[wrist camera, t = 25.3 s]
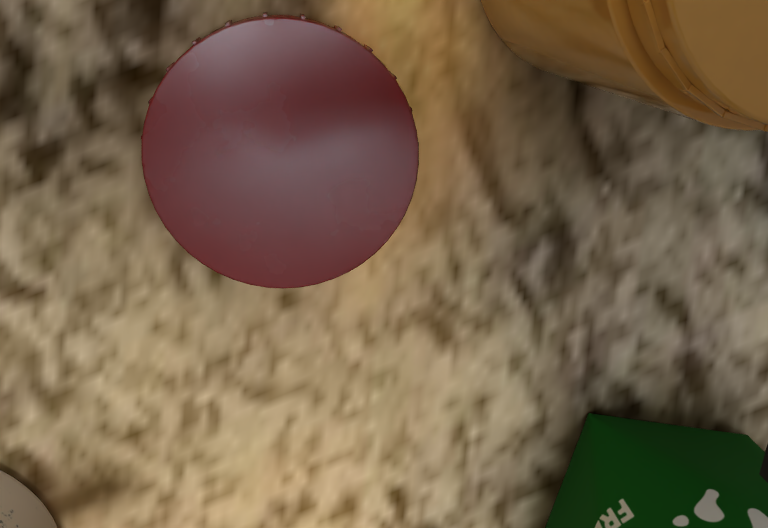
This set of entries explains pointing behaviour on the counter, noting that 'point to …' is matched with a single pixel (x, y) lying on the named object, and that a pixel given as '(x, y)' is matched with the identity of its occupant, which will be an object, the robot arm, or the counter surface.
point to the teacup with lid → (21, 506)
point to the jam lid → (280, 151)
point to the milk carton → (660, 478)
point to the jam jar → (651, 51)
